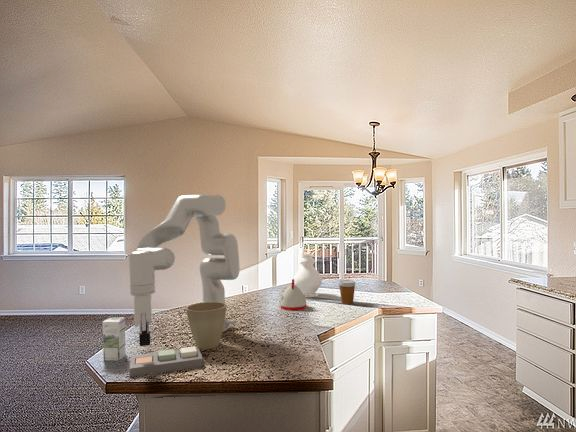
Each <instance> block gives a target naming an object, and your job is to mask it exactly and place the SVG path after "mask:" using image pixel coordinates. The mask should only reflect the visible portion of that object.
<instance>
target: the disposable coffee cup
mask: <svg viewBox="0 0 576 432" xmlns="http://www.w3.org/2000/svg"><path fill="white" fill-rule="evenodd" d="M338 286H339V293H340V298H341V304H343V305H352V304H354V297H355V287H356V282H355V280H352V279H351V280H348V279H345V280H339V281H338Z"/></svg>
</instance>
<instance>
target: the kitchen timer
mask: <svg viewBox="0 0 576 432" xmlns="http://www.w3.org/2000/svg"><path fill="white" fill-rule="evenodd" d="M306 299H307V297H305V294H303V293H302V291H301V290H300V289H299V288H298V287H297V286H295V285H294V278H293V279H291V285H290V286H288V287H287V288H286V289H285V290H284V292H283V293H282V294H281V297H280V309H281V310H285V311H301V310H304V309H307V300H306Z"/></svg>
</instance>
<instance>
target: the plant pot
mask: <svg viewBox="0 0 576 432" xmlns="http://www.w3.org/2000/svg"><path fill="white" fill-rule="evenodd" d="M185 309H186V315H187V321H188V325H189V328H190V332H191V335H192V338H193V340H194V343H195V345H196V346H195V347H199V349H200V350H211V349H215V348H217V347H219V345H220V341H221V338H222V335H223V332H222V331H223V327H224V321H225V318H226V314H227V313H226V312H227V304H226V302H225V303H222V302H203V301H202V302H198V303H194V304H193V303H192V304H190V305H187V306H186V308H185Z"/></svg>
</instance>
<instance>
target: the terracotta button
mask: <svg viewBox="0 0 576 432" xmlns="http://www.w3.org/2000/svg"><path fill="white" fill-rule="evenodd" d="M148 362H152V356H151V357H143V358H136V363H135V364H141V363H148Z"/></svg>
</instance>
